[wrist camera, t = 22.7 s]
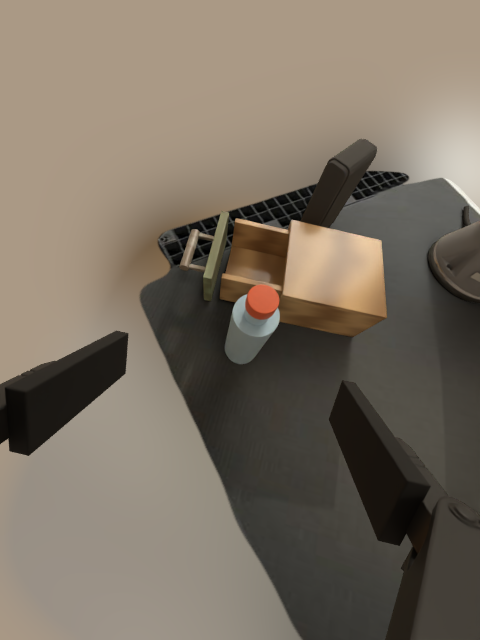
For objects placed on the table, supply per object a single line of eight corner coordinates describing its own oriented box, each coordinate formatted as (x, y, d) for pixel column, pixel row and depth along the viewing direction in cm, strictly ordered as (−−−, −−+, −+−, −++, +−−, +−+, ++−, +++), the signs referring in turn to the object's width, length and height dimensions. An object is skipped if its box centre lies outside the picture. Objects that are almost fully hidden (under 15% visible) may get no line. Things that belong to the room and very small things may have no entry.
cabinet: (268, 319, 39) (282, 295, 32) (277, 254, 45) (291, 219, 37) (352, 337, 40) (387, 317, 32) (351, 270, 45) (381, 240, 38)
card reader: (319, 211, 50) (361, 132, 36) (334, 223, 49) (383, 147, 36) (291, 233, 47) (326, 156, 33) (307, 246, 46) (349, 172, 33)
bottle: (235, 326, 38) (252, 266, 23) (262, 343, 38) (299, 291, 23) (218, 353, 36) (225, 305, 21) (247, 370, 36) (275, 334, 21)
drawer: (177, 294, 38) (171, 270, 32) (196, 235, 43) (194, 204, 37) (285, 317, 39) (300, 298, 33) (292, 256, 44) (305, 230, 38)
